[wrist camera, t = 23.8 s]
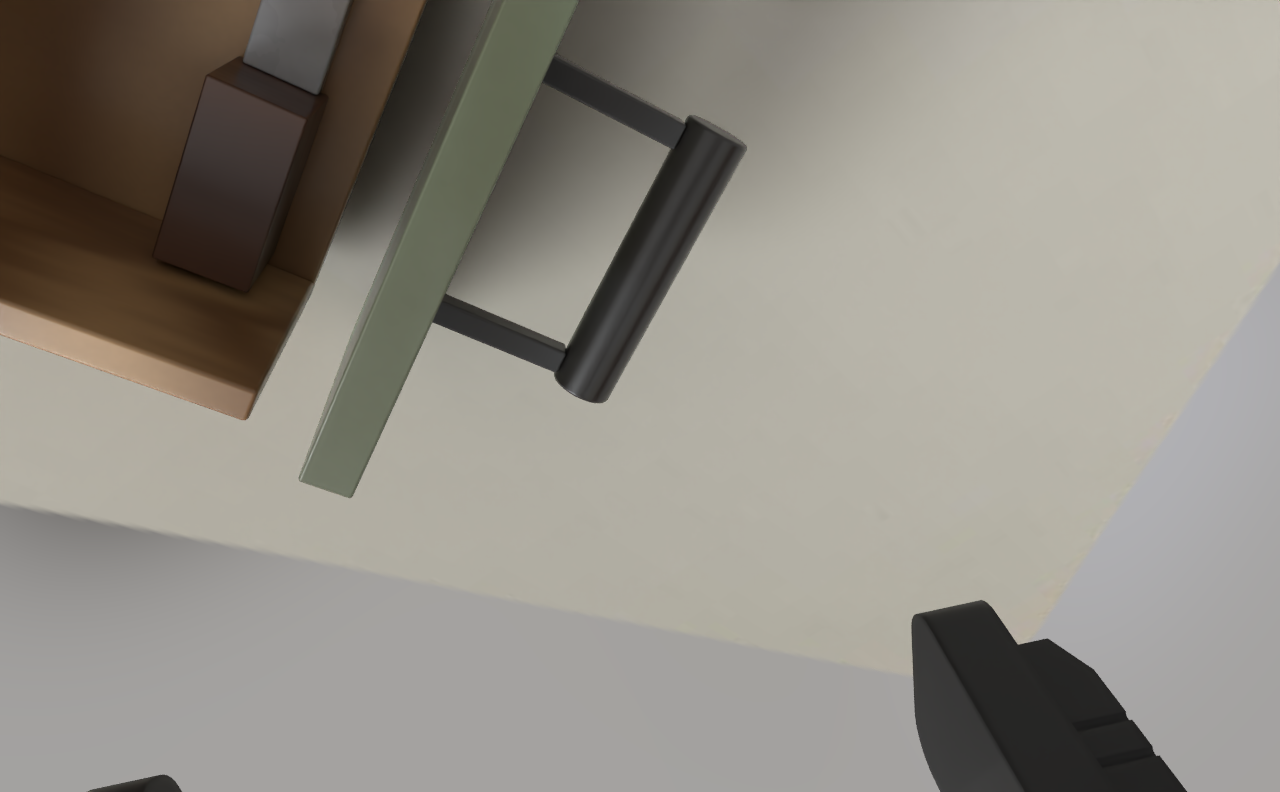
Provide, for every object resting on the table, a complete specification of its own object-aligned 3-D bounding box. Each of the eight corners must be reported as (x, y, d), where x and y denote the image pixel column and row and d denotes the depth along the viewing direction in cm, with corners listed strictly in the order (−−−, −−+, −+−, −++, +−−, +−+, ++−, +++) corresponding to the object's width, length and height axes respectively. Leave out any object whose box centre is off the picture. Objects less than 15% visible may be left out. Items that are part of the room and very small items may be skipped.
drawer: (769, -15, 24) (872, 19, 17) (544, 410, 29) (555, 569, 22) (-76, -518, 18) (-435, -776, 11) (-181, 124, 23) (-477, 220, 16)
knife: (273, 255, 25) (247, 294, 22) (187, 221, 24) (150, 257, 22) (402, -110, 21) (388, -111, 19) (305, -162, 21) (278, -170, 18)
